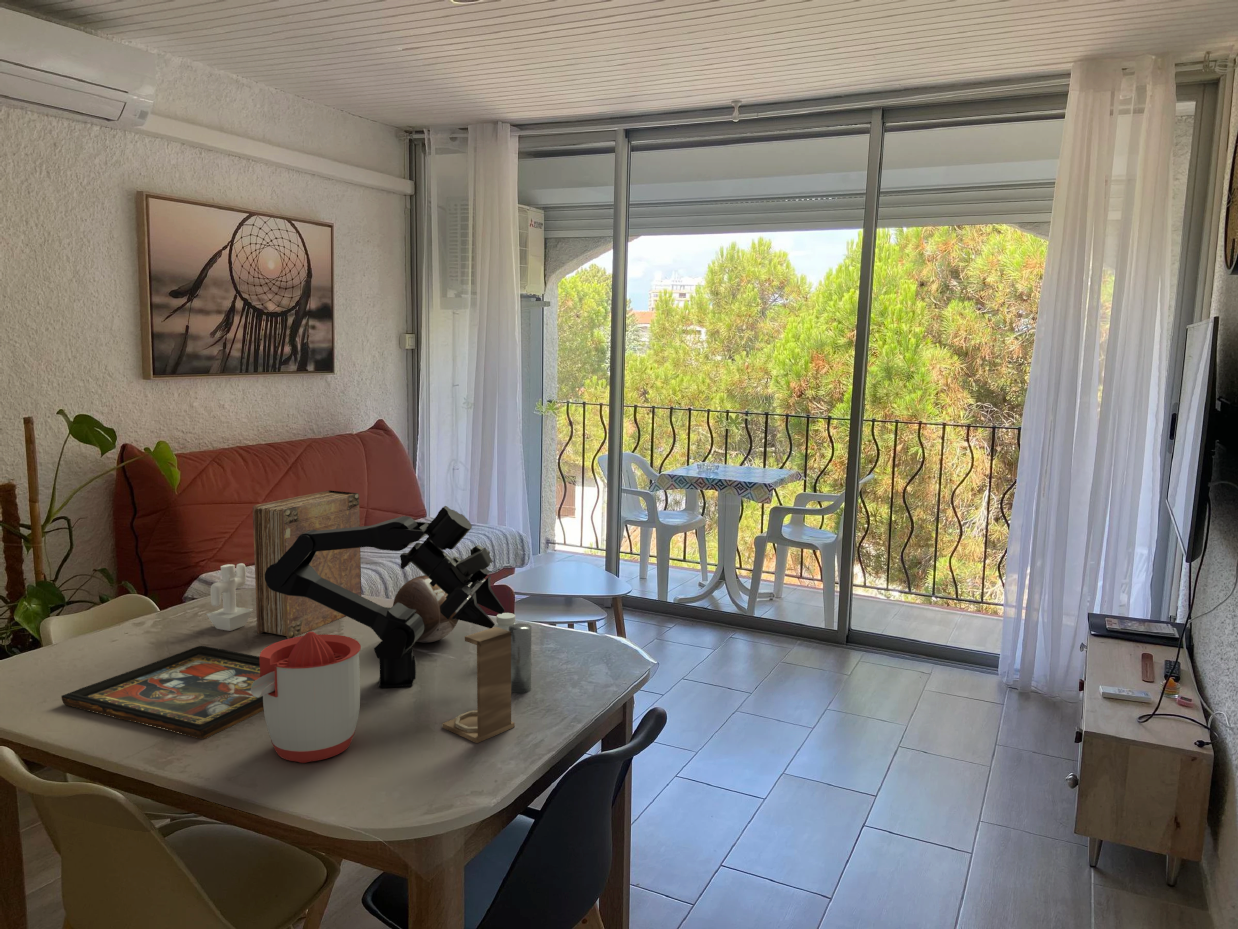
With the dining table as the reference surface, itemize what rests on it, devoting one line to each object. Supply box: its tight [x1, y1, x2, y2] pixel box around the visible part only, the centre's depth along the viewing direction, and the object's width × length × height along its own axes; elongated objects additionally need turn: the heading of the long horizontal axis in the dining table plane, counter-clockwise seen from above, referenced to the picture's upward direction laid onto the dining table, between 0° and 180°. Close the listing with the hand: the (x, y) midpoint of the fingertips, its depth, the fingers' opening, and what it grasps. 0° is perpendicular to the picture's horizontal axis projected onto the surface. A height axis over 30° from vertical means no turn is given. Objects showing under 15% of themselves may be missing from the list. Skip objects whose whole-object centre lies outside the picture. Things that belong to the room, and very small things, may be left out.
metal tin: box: [509, 623, 532, 694], centre depth 170 cm, size 4×4×12 cm
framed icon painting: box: [61, 645, 264, 740], centre depth 167 cm, size 38×35×3 cm
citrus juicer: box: [251, 630, 362, 764], centre depth 143 cm, size 16×17×20 cm
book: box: [252, 490, 362, 639], centre depth 208 cm, size 25×9×30 cm, turn 157°
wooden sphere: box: [392, 574, 459, 644], centre depth 197 cm, size 15×15×15 cm
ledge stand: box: [441, 627, 516, 744], centre depth 152 cm, size 9×9×18 cm
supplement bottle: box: [494, 612, 516, 631], centre depth 186 cm, size 5×5×10 cm
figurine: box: [205, 562, 254, 632], centre depth 204 cm, size 7×9×15 cm
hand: (498, 619), depth 170 cm, fingers open, 9 cm apart
